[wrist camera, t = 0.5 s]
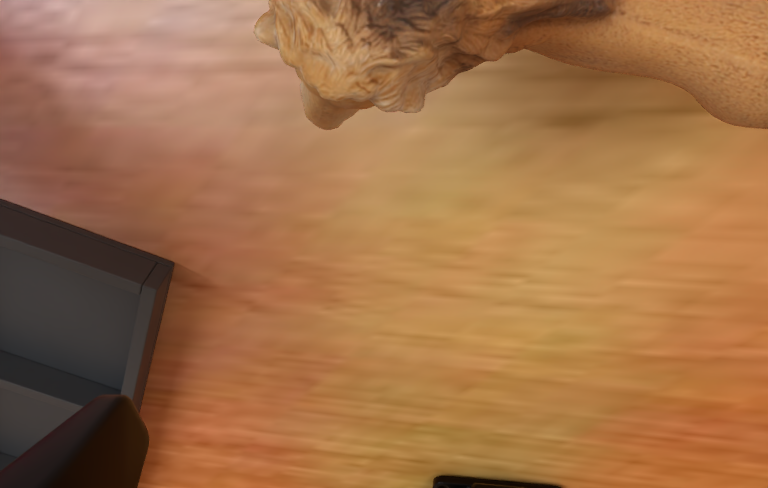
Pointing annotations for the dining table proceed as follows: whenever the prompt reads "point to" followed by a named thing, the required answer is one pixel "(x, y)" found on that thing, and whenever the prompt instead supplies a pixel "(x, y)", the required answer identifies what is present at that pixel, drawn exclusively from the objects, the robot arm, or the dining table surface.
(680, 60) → the lion figurine
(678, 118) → the dining table surface
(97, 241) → the grid
